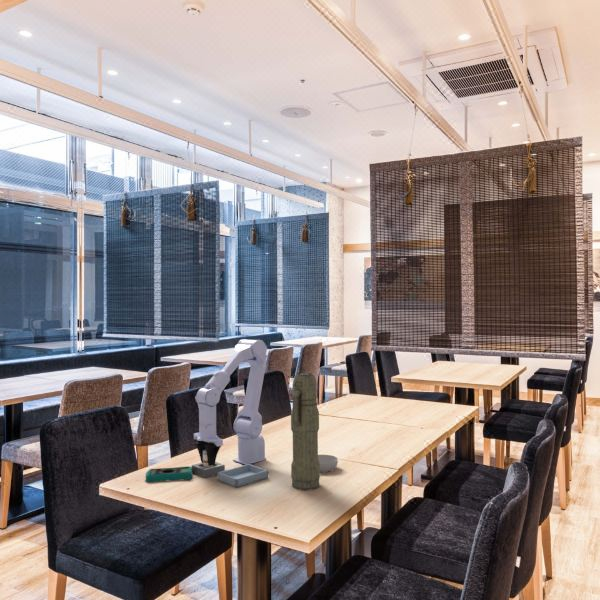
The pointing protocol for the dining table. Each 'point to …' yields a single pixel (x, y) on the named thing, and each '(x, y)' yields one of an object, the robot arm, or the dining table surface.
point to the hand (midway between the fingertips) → (208, 463)
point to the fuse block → (207, 469)
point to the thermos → (305, 433)
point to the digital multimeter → (169, 474)
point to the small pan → (327, 462)
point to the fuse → (205, 460)
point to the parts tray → (242, 475)
